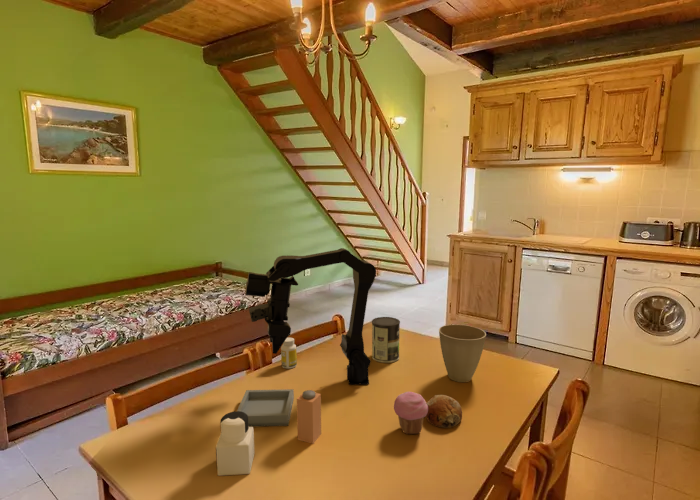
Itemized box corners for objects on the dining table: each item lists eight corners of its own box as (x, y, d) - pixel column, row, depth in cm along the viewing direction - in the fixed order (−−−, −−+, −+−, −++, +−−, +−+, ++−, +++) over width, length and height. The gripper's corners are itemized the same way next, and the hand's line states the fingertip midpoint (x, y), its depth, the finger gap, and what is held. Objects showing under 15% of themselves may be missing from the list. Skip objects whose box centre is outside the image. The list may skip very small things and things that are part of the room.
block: (306, 430, 106) (305, 387, 105) (321, 433, 105) (320, 391, 103) (297, 439, 102) (296, 395, 101) (313, 443, 101) (312, 399, 99)
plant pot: (483, 391, 126) (485, 342, 124) (434, 384, 131) (436, 336, 129) (484, 370, 140) (486, 326, 138) (440, 365, 145) (441, 321, 143)
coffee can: (397, 351, 157) (398, 316, 155) (400, 363, 147) (401, 325, 144) (371, 351, 157) (371, 316, 155) (372, 363, 147) (372, 325, 145)
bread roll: (462, 427, 114) (464, 397, 116) (460, 431, 104) (462, 399, 106) (426, 421, 117) (428, 391, 119) (421, 424, 107) (424, 392, 110)
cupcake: (432, 438, 103) (433, 401, 101) (398, 442, 101) (399, 404, 100) (420, 418, 111) (421, 384, 110) (389, 421, 110) (390, 387, 108)
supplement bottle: (298, 362, 147) (297, 336, 146) (294, 369, 142) (294, 342, 140) (283, 362, 148) (282, 336, 146) (279, 368, 142) (278, 342, 141)
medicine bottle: (224, 455, 96) (221, 408, 95) (254, 453, 97) (252, 406, 95) (216, 476, 89) (214, 426, 88) (250, 474, 90) (247, 424, 88)
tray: (293, 398, 122) (293, 389, 122) (288, 425, 108) (287, 415, 108) (246, 399, 122) (246, 390, 121) (235, 426, 108) (234, 416, 107)
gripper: (251, 288, 129) (245, 335, 131) (253, 304, 111) (246, 359, 113) (286, 291, 132) (280, 337, 134) (294, 307, 114) (286, 360, 116)
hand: (273, 347), depth 124 cm, fingers open, 9 cm apart
